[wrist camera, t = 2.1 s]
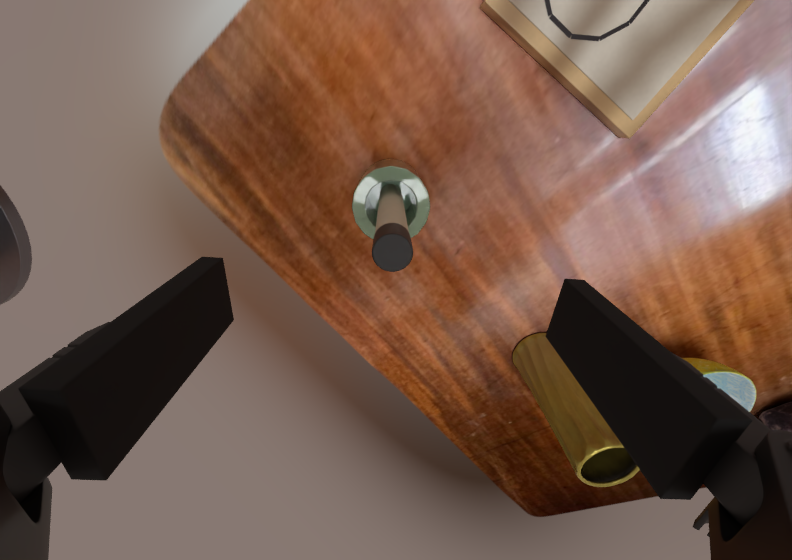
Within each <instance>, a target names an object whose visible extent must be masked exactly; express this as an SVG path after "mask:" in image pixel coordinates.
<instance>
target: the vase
mask: <svg viewBox="0 0 792 560" xmlns="http://www.w3.org/2000/svg"><path fill="white" fill-rule="evenodd" d="M546 334H547V333H537V334H533V335H530V336H528V337H526V338H525V339H523V340H522V341H521V342H520V343H519V344H518V345H517V347H516V348H515V350H514V352H513V363H514V365H515V367H516V368H517V369H518V370H519V372H520V374H521V375H522V377H523V379H524V381H525V382H526V384H527V385H528V387H529V389H530V390H531V392H532V394H533V396H534V398H535V399H536V401H537V403H538V405H539V406H540V408H541V410H542V412H543V413H544V415H545V417H546V419H547V421H548V422H549V424H550V426H551V428H552V430H553V432H554V433H555V435H556V437H557V439H558V441H559V442H560V444H561V446H562V448H563V450H564V452H565V454H566V456H567V458H568V459H569V461H570V463H571V465H572V467H573V469H574V471H575V473H576V474H577V476H578V478H579V479H580V480H581V481H582V482H584V483H586V484H588V485H591V486H596V487H608V486H613V485H616V484H619V483H622V482H625V481H626V480H628V479H630V478H631V477H633V476H634V475H635V474H636V473H637V472H638V471H639V470H640V469H639V468H638V466H637V465H636V463H635V462H634V461H633V459H632V458H631V456H630V455H629V454H628V452H627V451H626V449H625V448H624V446H623V445H622V444H621V442H620V441H619V439H618V438H617V437H616V435H615V434H614V432H613V431H612V430H611V428H610V427H609V425H608V424H607V423H606V421H605V420H604V418H603V417H602V415H601V414H600V413H599V411H598V410H597V408H596V407H595V406H594V404H593V403H592V401H591V400H590V399H589V397H588V396H587V394H586V393H585V391H584V390H583V389H582V387H581V386H580V384H579V383H578V382H577V380H576V379H575V377H574V376H573V375H572V373H571V372H570V370H569V369H568V368H567V366H566V365H565V363H564V362H563V360H562V359H561V358H560V356H559V355H558V353H557V352H556V351H555V349H554V348H553V346H552V345H551V344H550V342H549V341H548V339H547V338H546Z"/></svg>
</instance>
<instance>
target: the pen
mask: <svg viewBox="0 0 792 560" xmlns="http://www.w3.org/2000/svg"><path fill="white" fill-rule="evenodd" d="M372 257H373V260H374V262H375V263H376V264H377V266H379V267H380V268H381V269H383V270H386V271H390V272H394V271H399V270H402V269H404V268H405V267H406V266H407V265H408V264H409V263H410V262H411V260H412V257H413V248H412V242H411V237H410V234H409V231H408V225H407V219H406V214H405V208H404V203H403V197H402V192H401V190H400V188H399V187H398V186H396V185H394V184H387V185H385V186H384V187H383V188H382V189H381V191H380V197H379V205H378V213H377V222H376V230H375V235H374V239H373V247H372Z"/></svg>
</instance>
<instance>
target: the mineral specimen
mask: <svg viewBox="0 0 792 560" xmlns="http://www.w3.org/2000/svg"><path fill="white" fill-rule="evenodd" d="M759 420H760V421H761V422H762V423H763V424H765V425H766V426H767V427H768V428H770V429H771V430H772V431H773V430H783V431H789V432H792V401H791V402H788V403H785V404H782V405H780V406H777V407H775V408H772V409H769V410H766V411H764V412H762V413H761V414H760V416H759Z"/></svg>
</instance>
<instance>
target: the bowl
mask: <svg viewBox="0 0 792 560" xmlns="http://www.w3.org/2000/svg"><path fill="white" fill-rule="evenodd" d="M682 359H684V360H686V361H687V362H689V363H690V364H691V365H692V366H694V367H695V368H696V369H697V370H699V371H700V372H701V373H702V374H703V376H704V377H707V378H708V379H710V380H711V381H712V382H713V383H714V384H716V385H717V388H721V389H722V390H723V391H724V392H725V393H727V394H728V395H729V396H730V397H732V398H733V399H734V400H735V401H736V402H738V403H739V404H740V405H741V406H743V407H744V408H745V409H746V410H748V411H749V412H750V411H751V409H752V407H753V405H754V403H755V400H756V388H755V385H754V384H753V382H752V381H751V380H750V379H749V378H748V377H746V376H745V375H743V374H741V373H740V372H738V371H736V370H734V369H732V368H730V367H727V366H725V365H723V364H720V363H717V362H714V361H710V360H706V359H699V358H682Z"/></svg>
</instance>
